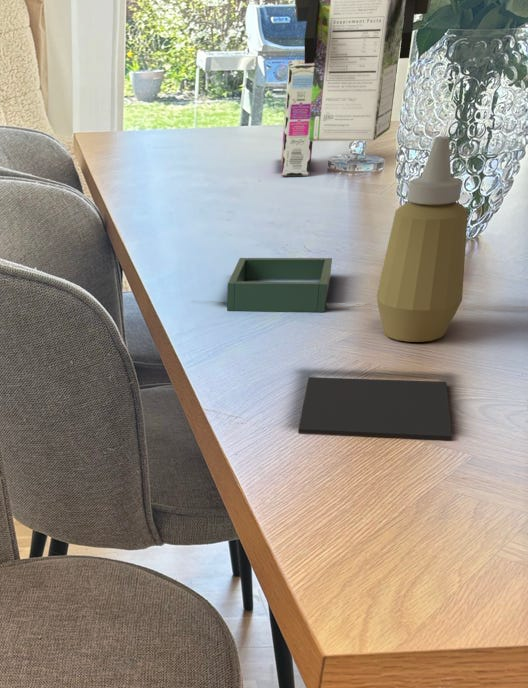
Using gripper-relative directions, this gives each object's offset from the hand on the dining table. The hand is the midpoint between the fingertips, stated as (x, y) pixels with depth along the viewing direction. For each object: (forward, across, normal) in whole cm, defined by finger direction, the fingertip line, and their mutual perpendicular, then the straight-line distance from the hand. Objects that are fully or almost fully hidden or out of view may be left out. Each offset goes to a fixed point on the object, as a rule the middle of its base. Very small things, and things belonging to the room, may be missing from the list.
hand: (357, 48), depth 79 cm
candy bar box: (-50, +12, -87) cm, 101 cm away
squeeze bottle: (+11, -8, -26) cm, 30 cm away
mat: (+25, -4, -12) cm, 28 cm away
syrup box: (+2, 0, -8) cm, 8 cm away
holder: (+3, +7, -34) cm, 35 cm away
